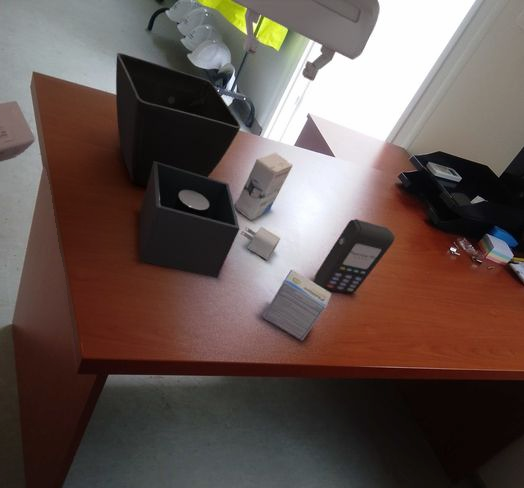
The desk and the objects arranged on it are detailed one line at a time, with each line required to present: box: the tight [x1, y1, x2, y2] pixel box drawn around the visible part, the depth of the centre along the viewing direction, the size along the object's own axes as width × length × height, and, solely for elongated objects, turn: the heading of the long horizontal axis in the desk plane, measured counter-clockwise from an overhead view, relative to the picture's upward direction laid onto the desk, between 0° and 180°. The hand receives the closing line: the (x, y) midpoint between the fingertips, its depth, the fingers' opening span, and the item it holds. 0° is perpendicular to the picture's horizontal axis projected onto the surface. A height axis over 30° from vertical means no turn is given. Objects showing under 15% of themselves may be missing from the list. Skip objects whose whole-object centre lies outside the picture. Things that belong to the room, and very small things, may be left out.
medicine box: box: [262, 269, 332, 342], centre depth 75 cm, size 8×4×9 cm, turn 71°
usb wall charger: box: [240, 225, 281, 261], centre depth 89 cm, size 4×7×4 cm, turn 71°
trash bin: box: [139, 161, 241, 278], centre depth 77 cm, size 13×13×10 cm
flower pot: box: [115, 52, 242, 187], centre depth 87 cm, size 19×19×17 cm
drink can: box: [174, 190, 209, 217], centre depth 77 cm, size 5×5×9 cm
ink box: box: [234, 152, 293, 221], centre depth 95 cm, size 9×5×12 cm, turn 150°
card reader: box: [314, 218, 395, 295], centre depth 87 cm, size 9×4×15 cm, turn 106°
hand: (278, 65), depth 64 cm, fingers open, 8 cm apart
